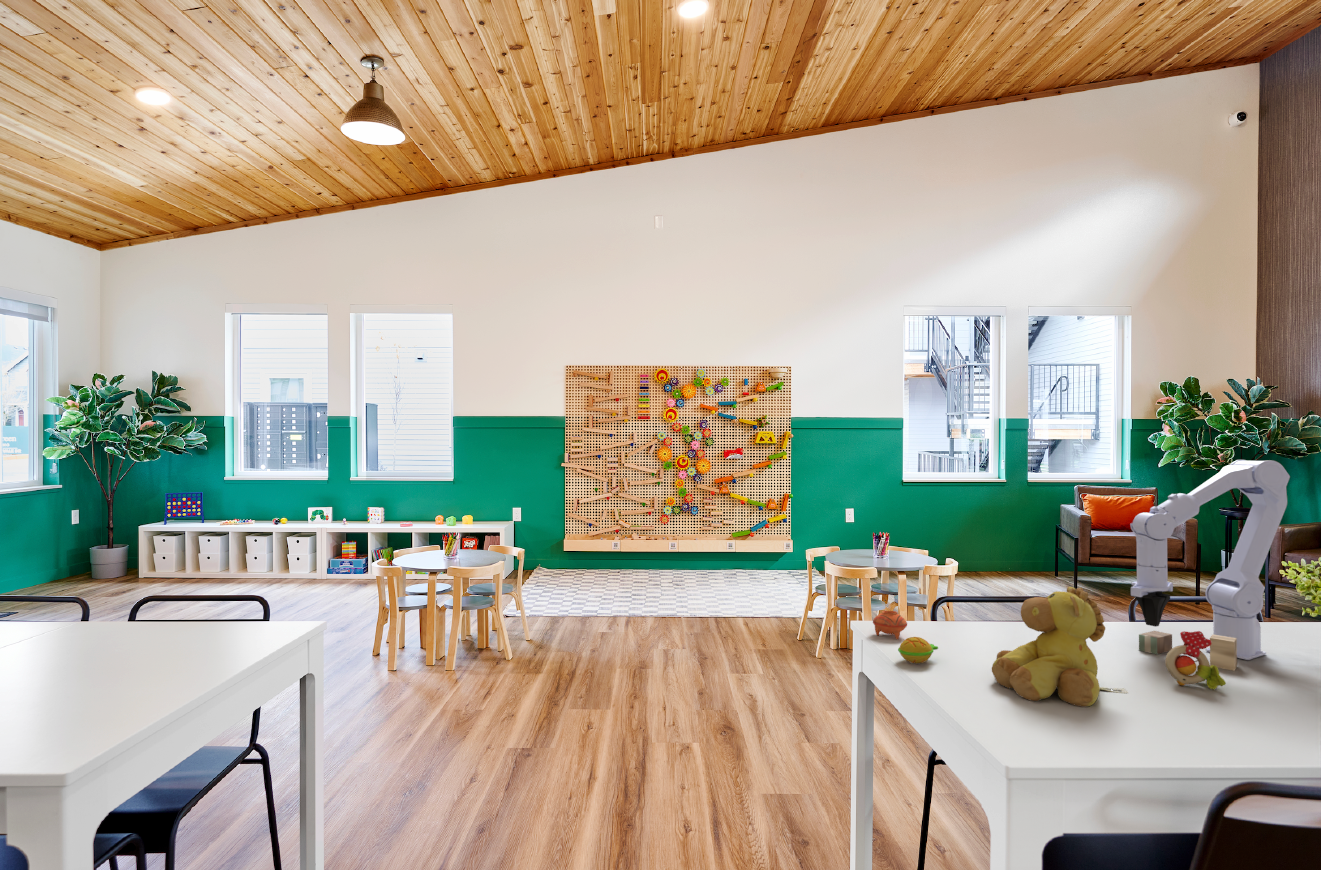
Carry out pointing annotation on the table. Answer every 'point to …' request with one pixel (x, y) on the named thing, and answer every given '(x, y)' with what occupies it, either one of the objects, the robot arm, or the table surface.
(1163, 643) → the walnut block
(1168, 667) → the bird rattle
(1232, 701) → the table surface
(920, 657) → the yellow green oval toy
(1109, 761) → the table surface
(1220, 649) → the oak block
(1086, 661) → the giraffe plush
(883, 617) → the pot
